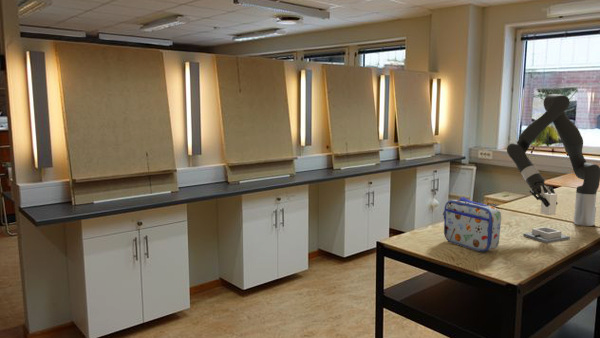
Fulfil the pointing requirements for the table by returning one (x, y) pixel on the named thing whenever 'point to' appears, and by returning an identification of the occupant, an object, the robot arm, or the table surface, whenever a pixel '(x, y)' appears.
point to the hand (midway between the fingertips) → (552, 205)
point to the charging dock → (546, 235)
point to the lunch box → (472, 224)
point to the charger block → (552, 207)
